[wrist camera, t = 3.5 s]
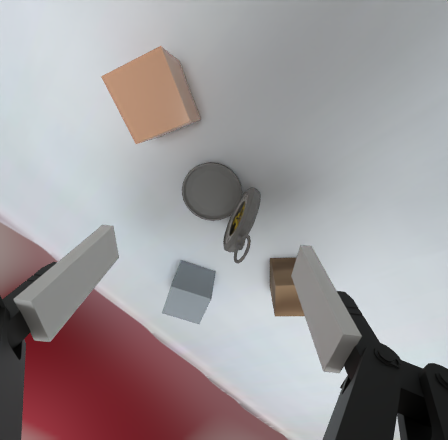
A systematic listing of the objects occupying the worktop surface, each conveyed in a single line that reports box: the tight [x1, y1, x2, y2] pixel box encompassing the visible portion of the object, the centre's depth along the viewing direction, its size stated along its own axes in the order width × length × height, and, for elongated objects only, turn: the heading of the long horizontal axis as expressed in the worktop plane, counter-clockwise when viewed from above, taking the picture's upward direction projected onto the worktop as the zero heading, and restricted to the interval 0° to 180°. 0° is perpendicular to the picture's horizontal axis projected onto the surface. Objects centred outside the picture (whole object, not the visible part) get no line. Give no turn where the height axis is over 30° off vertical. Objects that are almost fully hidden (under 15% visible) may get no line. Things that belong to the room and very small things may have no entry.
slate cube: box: [162, 260, 216, 324], centre depth 28 cm, size 5×5×5 cm
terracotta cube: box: [101, 46, 201, 144], centre depth 18 cm, size 5×5×5 cm
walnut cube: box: [270, 258, 305, 316], centre depth 27 cm, size 5×5×5 cm
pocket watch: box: [182, 163, 261, 263], centre depth 20 cm, size 8×8×10 cm
